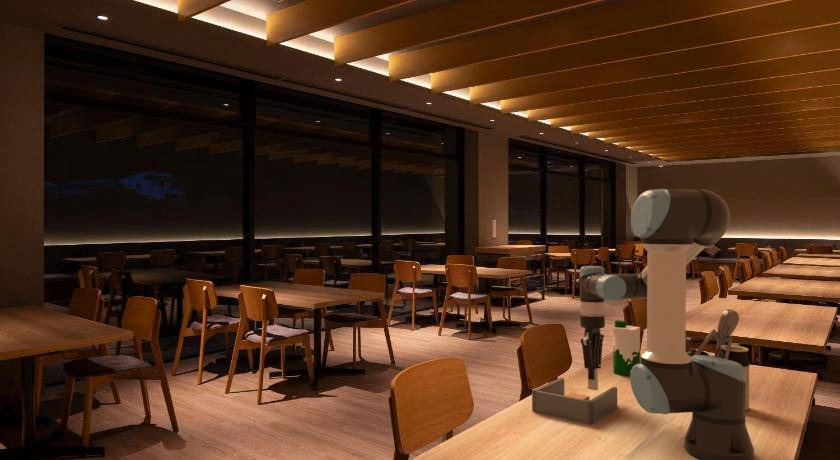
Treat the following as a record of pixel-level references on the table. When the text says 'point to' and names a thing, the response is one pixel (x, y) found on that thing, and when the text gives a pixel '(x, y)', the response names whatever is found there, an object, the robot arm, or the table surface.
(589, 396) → the tile block
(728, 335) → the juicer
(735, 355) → the travel mug
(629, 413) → the table surface
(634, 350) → the milk carton
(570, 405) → the bin
